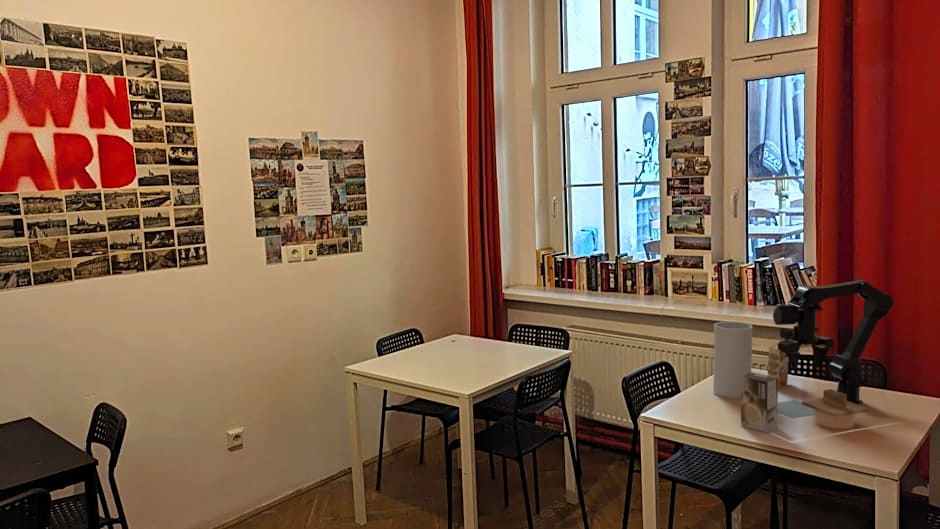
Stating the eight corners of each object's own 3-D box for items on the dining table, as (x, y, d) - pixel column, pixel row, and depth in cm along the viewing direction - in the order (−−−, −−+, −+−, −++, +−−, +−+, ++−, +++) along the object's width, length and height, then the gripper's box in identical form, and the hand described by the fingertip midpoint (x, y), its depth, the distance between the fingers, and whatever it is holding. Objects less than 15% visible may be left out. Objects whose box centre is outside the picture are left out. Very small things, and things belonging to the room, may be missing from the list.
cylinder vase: (707, 395, 252) (708, 326, 249) (721, 386, 261) (722, 320, 258) (743, 401, 244) (744, 330, 241) (755, 392, 253) (757, 324, 250)
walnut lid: (834, 399, 228) (834, 384, 228) (868, 411, 216) (868, 395, 216) (801, 404, 224) (802, 389, 224) (834, 417, 212) (835, 401, 211)
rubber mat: (795, 401, 243) (795, 399, 243) (827, 413, 229) (827, 412, 229) (761, 406, 238) (761, 405, 238) (792, 419, 225) (792, 418, 225)
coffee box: (778, 428, 218) (779, 377, 216) (767, 433, 214) (768, 382, 212) (750, 420, 225) (751, 371, 223) (739, 425, 221) (740, 375, 219)
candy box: (778, 390, 255) (779, 348, 253) (766, 387, 258) (767, 347, 256) (788, 384, 261) (789, 344, 260) (776, 382, 264) (777, 342, 263)
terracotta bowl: (833, 415, 228) (834, 400, 227) (862, 426, 217) (862, 411, 217) (806, 420, 224) (806, 405, 224) (834, 431, 214) (834, 415, 213)
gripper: (810, 316, 247) (808, 360, 249) (766, 321, 241) (765, 366, 243) (835, 322, 237) (834, 368, 239) (790, 328, 231) (789, 374, 233)
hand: (805, 369), depth 239 cm, fingers open, 9 cm apart
